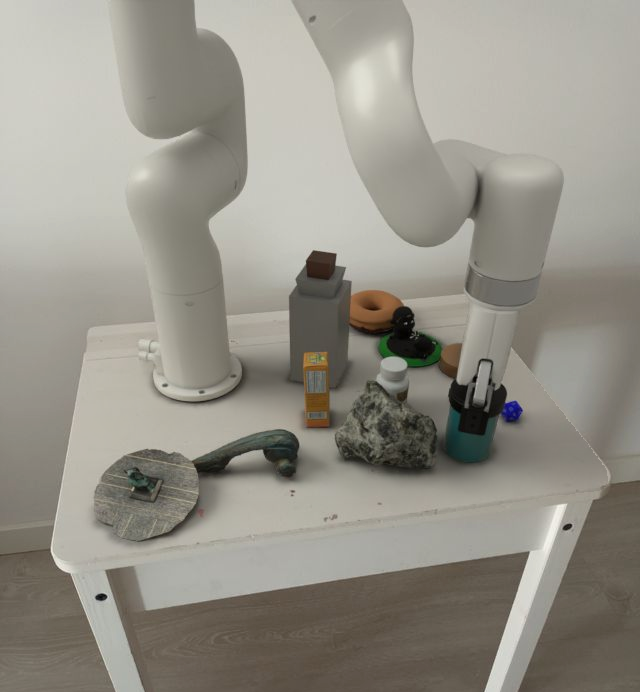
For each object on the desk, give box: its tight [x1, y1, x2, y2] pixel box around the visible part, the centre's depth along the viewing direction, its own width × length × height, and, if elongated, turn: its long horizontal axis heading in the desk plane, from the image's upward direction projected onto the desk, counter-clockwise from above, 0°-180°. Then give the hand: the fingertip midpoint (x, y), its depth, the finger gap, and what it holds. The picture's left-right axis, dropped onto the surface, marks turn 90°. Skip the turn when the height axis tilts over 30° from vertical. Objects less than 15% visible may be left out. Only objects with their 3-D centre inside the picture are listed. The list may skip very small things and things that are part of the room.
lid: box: [447, 376, 508, 419], centre depth 79 cm, size 7×7×2 cm
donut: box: [349, 289, 405, 334], centre depth 106 cm, size 10×10×4 cm
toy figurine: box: [377, 305, 444, 367], centre depth 100 cm, size 10×10×6 cm
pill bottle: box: [375, 357, 410, 405], centre depth 87 cm, size 4×4×8 cm
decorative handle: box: [190, 428, 300, 479], centre depth 79 cm, size 15×7×5 cm, turn 105°
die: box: [500, 400, 524, 423], centre depth 88 cm, size 3×3×3 cm
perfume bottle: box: [288, 249, 353, 389], centre depth 91 cm, size 7×7×18 cm
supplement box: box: [303, 352, 331, 428], centre depth 85 cm, size 3×4×10 cm
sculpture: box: [93, 448, 200, 542], centre depth 75 cm, size 12×9×8 cm
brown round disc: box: [438, 342, 463, 379], centre depth 97 cm, size 7×7×2 cm
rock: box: [334, 379, 439, 469], centre depth 80 cm, size 12×8×10 cm
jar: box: [442, 404, 500, 463], centre depth 81 cm, size 6×6×9 cm
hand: (474, 412), depth 81 cm, fingers closed on lid, 6 cm apart
